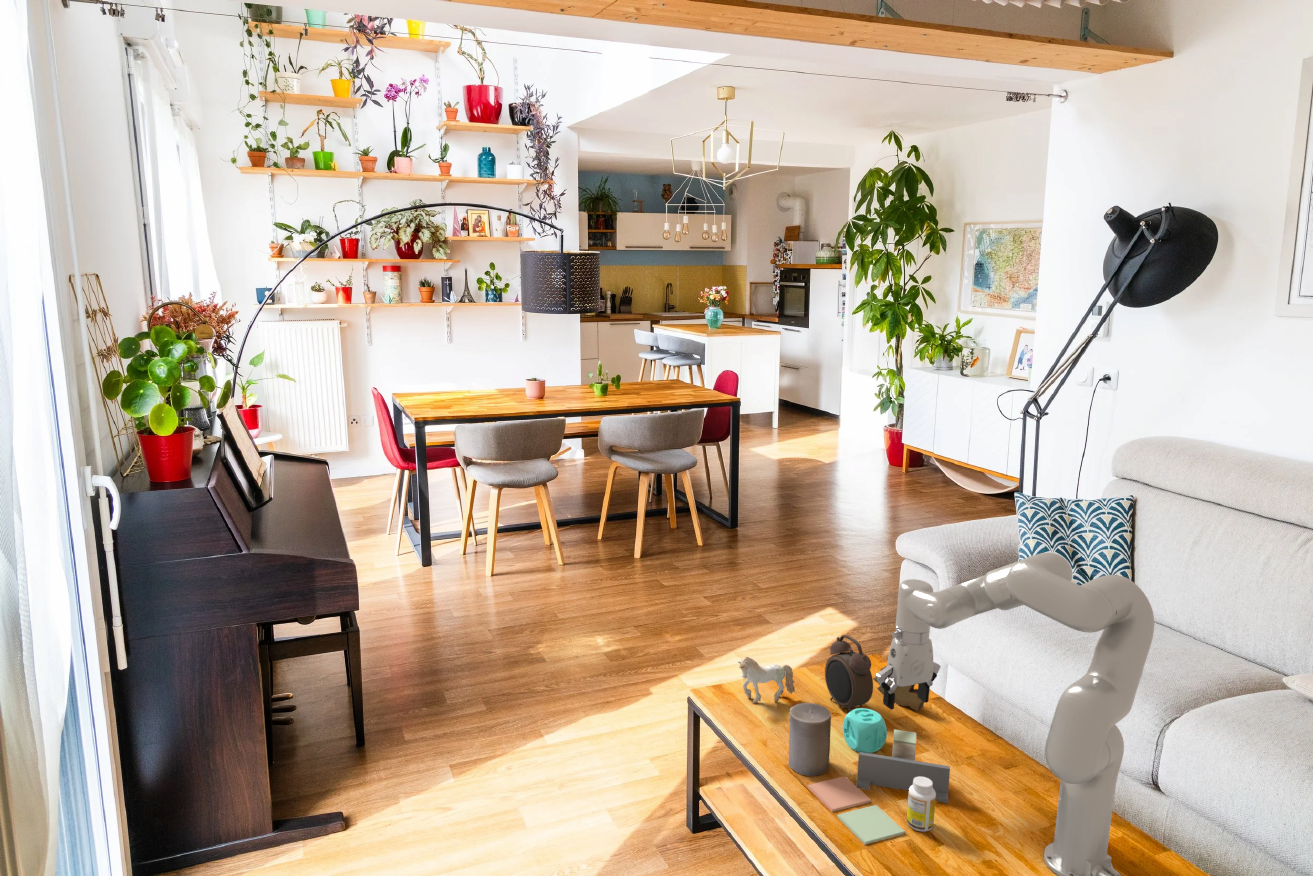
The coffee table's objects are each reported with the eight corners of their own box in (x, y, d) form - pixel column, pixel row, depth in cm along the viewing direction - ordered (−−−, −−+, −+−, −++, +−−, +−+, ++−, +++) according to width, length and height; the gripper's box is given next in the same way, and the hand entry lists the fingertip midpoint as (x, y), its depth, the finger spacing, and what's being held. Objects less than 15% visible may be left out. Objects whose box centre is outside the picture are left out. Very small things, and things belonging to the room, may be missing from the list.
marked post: (913, 771, 209) (916, 732, 207) (913, 783, 205) (916, 743, 203) (891, 768, 211) (894, 729, 209) (890, 779, 206) (893, 740, 204)
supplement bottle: (927, 816, 192) (930, 773, 190) (937, 832, 187) (941, 788, 185) (902, 817, 191) (905, 774, 190) (912, 833, 186) (915, 789, 184)
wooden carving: (930, 711, 238) (933, 677, 236) (921, 717, 235) (924, 682, 233) (877, 690, 250) (879, 657, 248) (868, 695, 247) (870, 662, 245)
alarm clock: (819, 698, 245) (822, 630, 241) (840, 693, 248) (844, 626, 244) (851, 722, 232) (856, 651, 228) (873, 717, 235) (878, 646, 231)
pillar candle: (830, 758, 215) (833, 700, 212) (827, 779, 205) (829, 719, 203) (790, 752, 217) (792, 695, 215) (785, 773, 208) (787, 714, 205)
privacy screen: (947, 788, 203) (949, 760, 201) (947, 803, 197) (950, 774, 196) (857, 773, 208) (859, 746, 207) (856, 787, 202) (858, 759, 201)
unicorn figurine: (723, 702, 241) (724, 656, 239) (781, 688, 250) (783, 643, 248) (737, 714, 235) (739, 667, 233) (796, 699, 244) (799, 653, 242)
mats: (904, 833, 186) (904, 831, 186) (864, 844, 182) (865, 842, 182) (844, 778, 206) (844, 776, 206) (807, 787, 202) (807, 785, 202)
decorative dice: (857, 756, 216) (859, 725, 214) (841, 739, 223) (843, 710, 222) (886, 751, 218) (888, 721, 217) (868, 735, 226) (870, 706, 224)
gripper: (890, 646, 194) (884, 717, 198) (953, 635, 201) (946, 704, 204) (870, 632, 201) (864, 702, 205) (931, 623, 208) (925, 690, 211)
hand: (905, 703), depth 205 cm, fingers open, 9 cm apart
